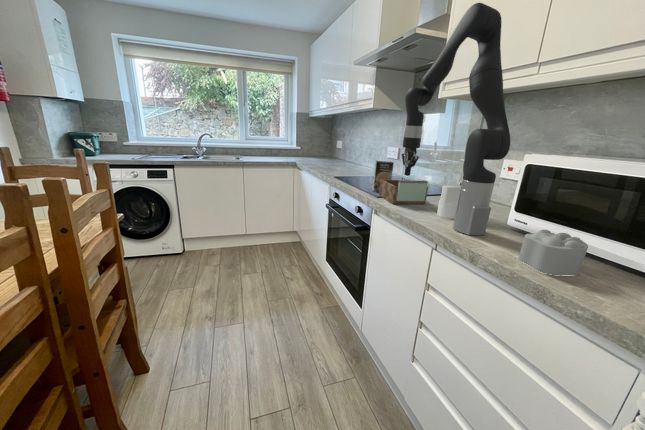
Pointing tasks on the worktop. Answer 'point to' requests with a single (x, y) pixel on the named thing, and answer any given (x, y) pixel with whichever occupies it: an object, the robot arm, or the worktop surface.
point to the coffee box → (382, 173)
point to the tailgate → (411, 190)
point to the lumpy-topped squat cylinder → (553, 252)
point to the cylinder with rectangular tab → (448, 202)
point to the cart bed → (394, 192)
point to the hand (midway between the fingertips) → (407, 175)
